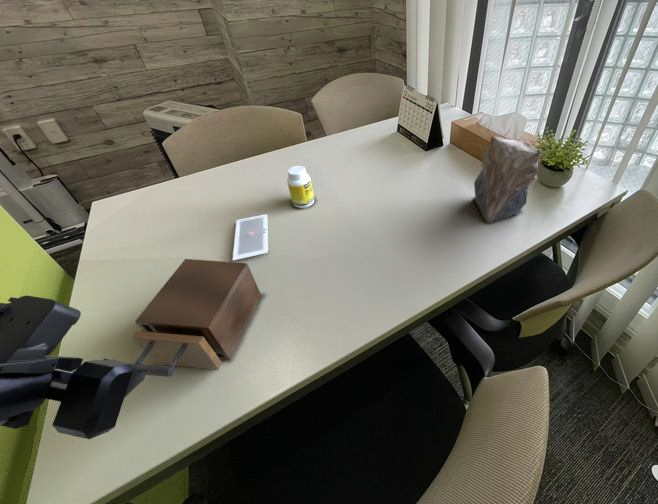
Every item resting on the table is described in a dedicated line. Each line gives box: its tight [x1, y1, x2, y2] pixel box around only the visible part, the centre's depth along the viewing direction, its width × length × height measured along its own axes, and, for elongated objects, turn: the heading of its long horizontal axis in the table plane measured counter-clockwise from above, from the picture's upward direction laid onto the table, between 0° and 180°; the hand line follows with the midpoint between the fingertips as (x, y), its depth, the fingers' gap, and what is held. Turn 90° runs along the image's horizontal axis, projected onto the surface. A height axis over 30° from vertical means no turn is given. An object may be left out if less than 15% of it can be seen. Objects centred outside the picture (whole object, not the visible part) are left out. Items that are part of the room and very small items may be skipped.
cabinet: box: [134, 258, 263, 361], centre depth 61 cm, size 14×13×11 cm
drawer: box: [130, 325, 223, 378], centre depth 57 cm, size 17×11×9 cm, turn 175°
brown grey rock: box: [473, 135, 543, 224], centre depth 86 cm, size 13×13×20 cm
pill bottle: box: [286, 164, 315, 209], centre depth 91 cm, size 6×6×11 cm
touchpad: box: [232, 213, 269, 261], centre depth 82 cm, size 8×15×2 cm, turn 18°
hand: (112, 368), depth 41 cm, fingers open, 9 cm apart
